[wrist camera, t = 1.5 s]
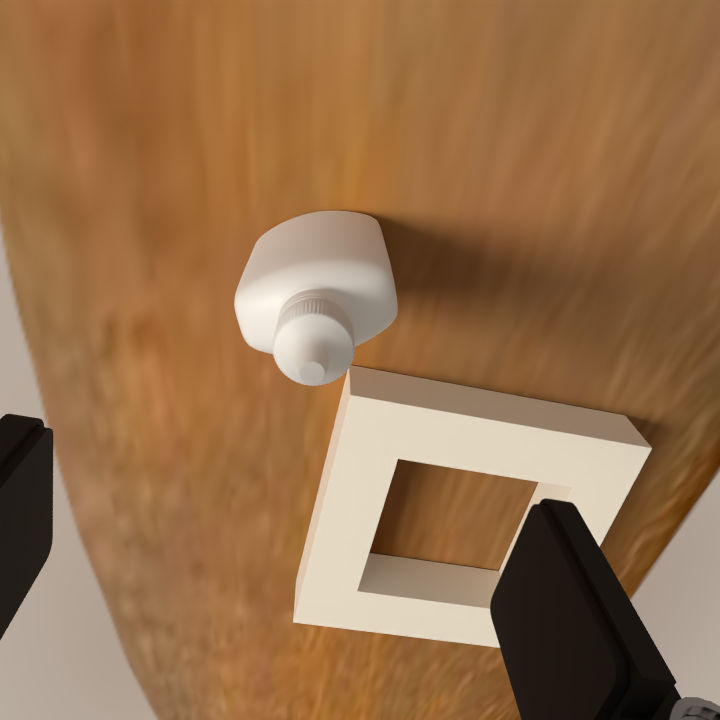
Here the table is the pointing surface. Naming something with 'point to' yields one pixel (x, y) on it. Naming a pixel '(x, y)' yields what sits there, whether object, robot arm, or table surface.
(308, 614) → the cream square frame
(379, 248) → the eye dropper bottle
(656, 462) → the table surface
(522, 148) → the table surface
